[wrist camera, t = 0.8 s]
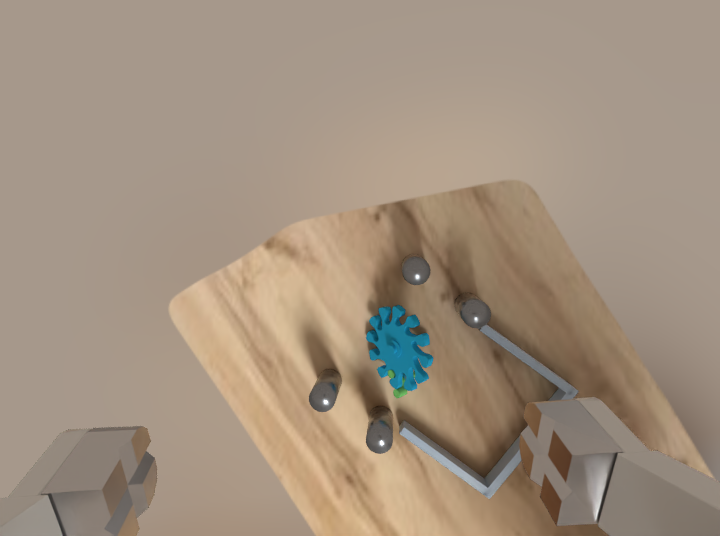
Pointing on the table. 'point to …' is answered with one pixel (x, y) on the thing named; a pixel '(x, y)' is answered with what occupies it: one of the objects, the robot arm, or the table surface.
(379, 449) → the spacer posts
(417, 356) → the gear
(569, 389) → the u-shaped bent rod
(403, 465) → the table surface
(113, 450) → the robot arm
